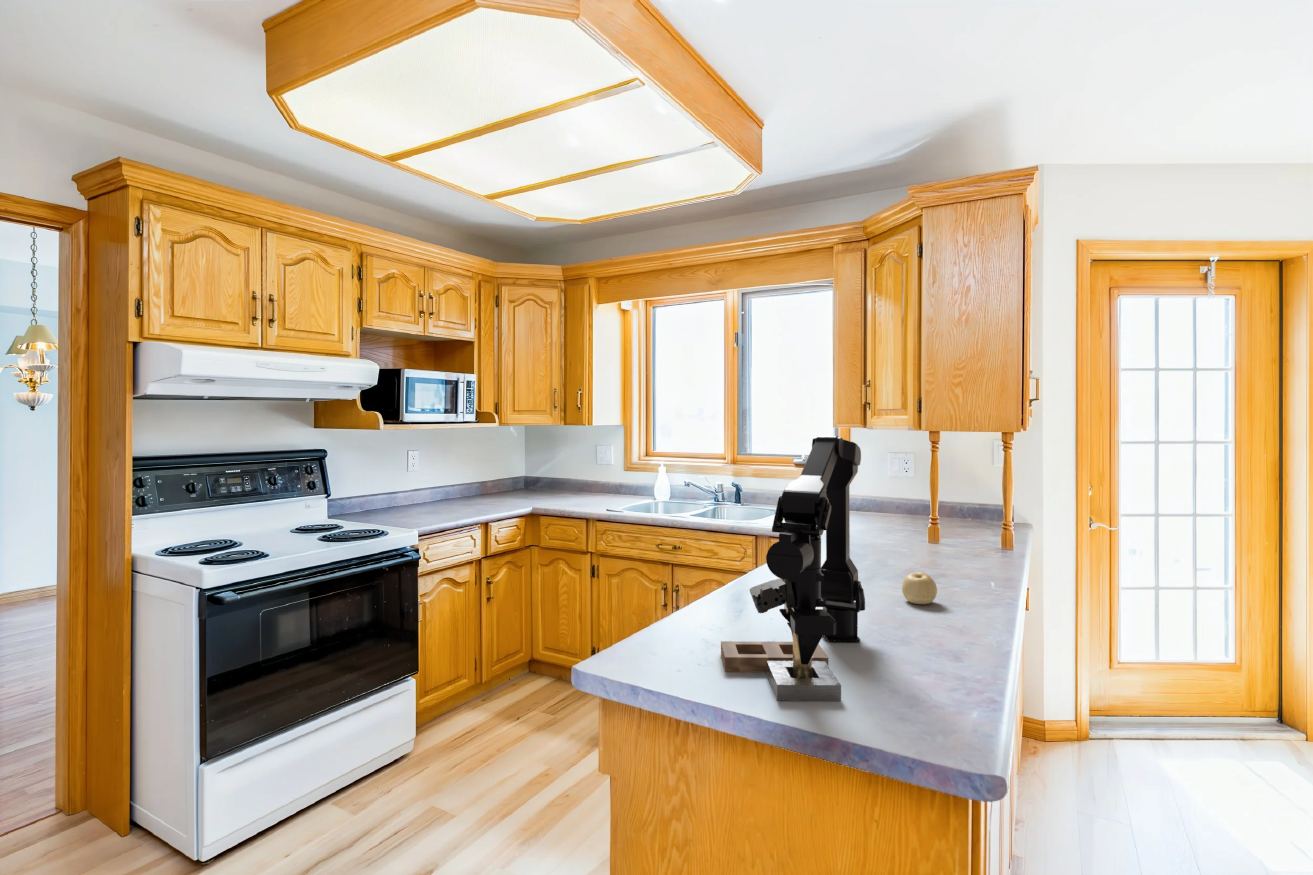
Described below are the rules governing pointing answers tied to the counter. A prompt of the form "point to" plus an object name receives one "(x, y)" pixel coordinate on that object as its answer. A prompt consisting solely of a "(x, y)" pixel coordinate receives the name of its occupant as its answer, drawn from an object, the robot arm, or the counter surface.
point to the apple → (919, 588)
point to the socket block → (803, 682)
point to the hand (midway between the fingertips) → (802, 660)
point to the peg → (799, 668)
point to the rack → (759, 655)
